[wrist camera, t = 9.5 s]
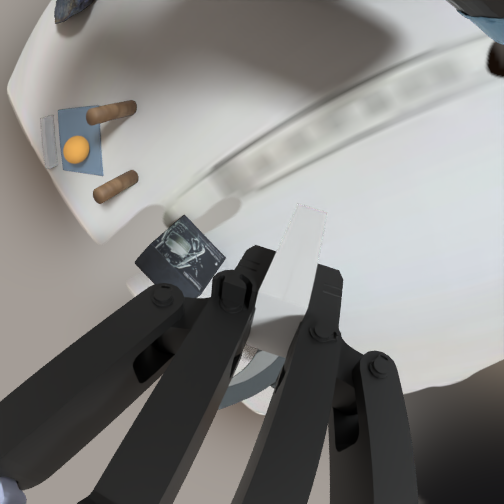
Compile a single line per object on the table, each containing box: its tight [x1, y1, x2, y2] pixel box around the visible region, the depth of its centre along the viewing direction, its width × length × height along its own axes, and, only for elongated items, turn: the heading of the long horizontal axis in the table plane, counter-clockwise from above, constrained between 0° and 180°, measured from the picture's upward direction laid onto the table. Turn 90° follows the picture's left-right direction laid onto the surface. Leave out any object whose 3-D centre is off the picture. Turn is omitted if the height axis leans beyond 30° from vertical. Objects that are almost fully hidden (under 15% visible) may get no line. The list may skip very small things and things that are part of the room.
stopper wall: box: [40, 115, 58, 169], centre depth 45 cm, size 12×2×2 cm, turn 173°
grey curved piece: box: [218, 349, 286, 409], centre depth 43 cm, size 11×17×24 cm, turn 44°
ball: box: [63, 136, 89, 164], centre depth 42 cm, size 6×6×6 cm
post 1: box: [86, 100, 137, 126], centre depth 34 cm, size 3×3×9 cm
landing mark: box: [58, 106, 103, 176], centre depth 44 cm, size 14×14×1 cm
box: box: [135, 215, 226, 298], centre depth 45 cm, size 11×7×10 cm, turn 44°
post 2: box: [93, 170, 138, 204], centre depth 42 cm, size 3×3×9 cm
